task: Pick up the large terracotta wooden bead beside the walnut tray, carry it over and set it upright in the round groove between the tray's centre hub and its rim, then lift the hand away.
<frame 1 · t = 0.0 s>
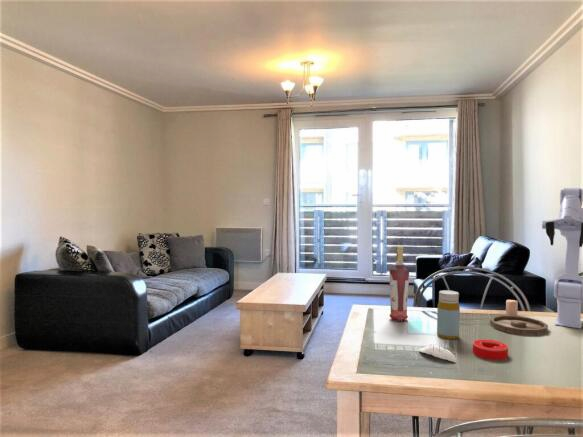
hand: (565, 244, 139), 32 cm above the table, tool tilted 50°, fingers open, 7 cm apart
bead: (511, 316, 174), on the table
bottle: (447, 337, 149), on the table
liquor: (398, 320, 169), on the table
groove tray: (518, 327, 160), on the table
decorative ornament: (489, 355, 133), on the table
pincushion: (437, 358, 130), on the table
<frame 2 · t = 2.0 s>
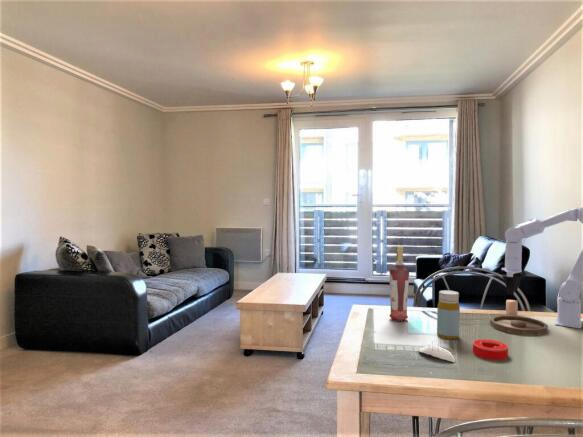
hand: (512, 292, 173), 9 cm above the table, tool pointing down, fingers open, 7 cm apart
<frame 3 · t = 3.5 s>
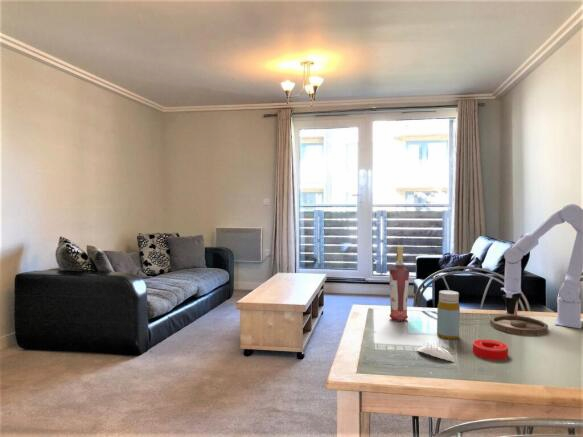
hand: (511, 312, 174), 1 cm above the table, tool pointing down, fingers closed on bead, 4 cm apart
bead: (511, 316, 174), on the table, touching gripper
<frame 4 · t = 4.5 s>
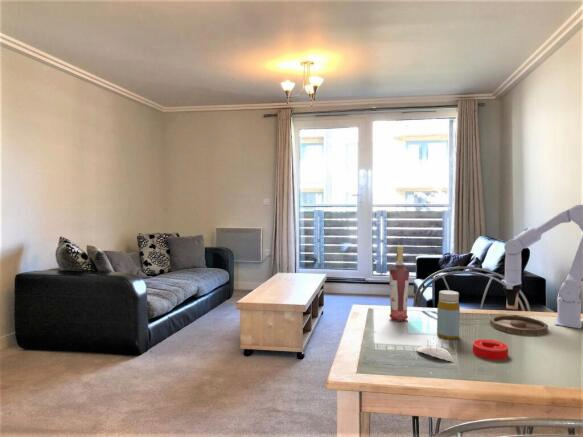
hand: (512, 304, 174), 5 cm above the table, tool pointing down, fingers closed on bead, 4 cm apart
bead: (512, 307, 174), point 3 cm above the table, touching gripper
everything else where it was.
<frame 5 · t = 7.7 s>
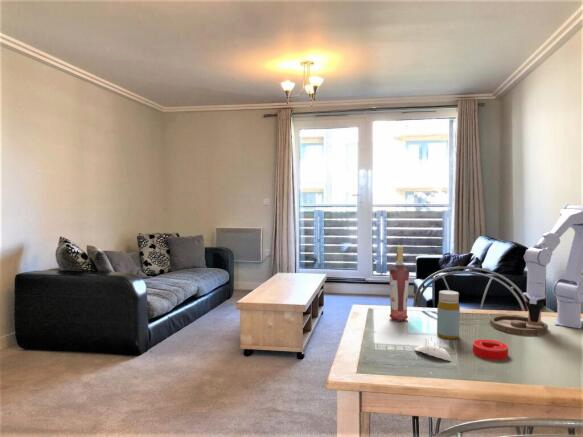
hand: (535, 320, 156), 3 cm above the table, tool pointing down, fingers closed on bead, 4 cm apart
bead: (534, 324, 157), point 2 cm above the table, touching gripper
when the fingers open (3 cm above the table, at t = 7.8 s): bead drops 1 cm, resting on groove tray.
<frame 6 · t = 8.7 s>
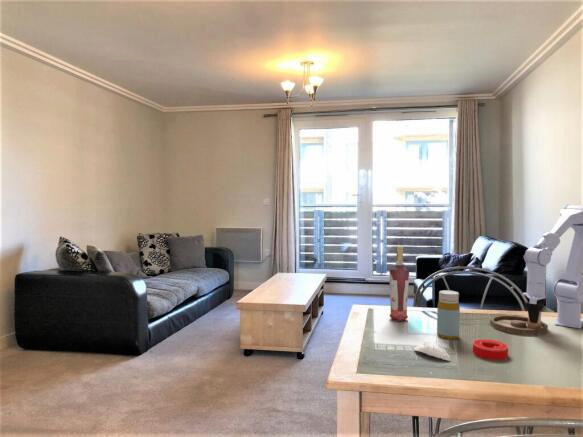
hand: (535, 320, 156), 3 cm above the table, tool pointing down, fingers open, 7 cm apart
bead: (534, 327, 157), point 1 cm above the table, touching groove tray
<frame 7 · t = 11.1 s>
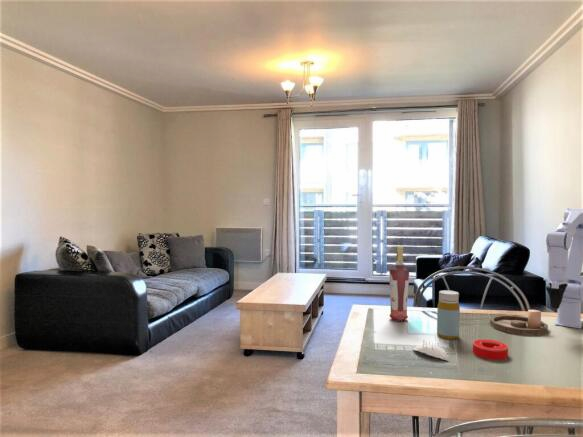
hand: (556, 305, 153), 9 cm above the table, tool pointing down, fingers open, 7 cm apart
at the end: bead 0.2 cm from the target spot on the groove tray, point 0.6 cm above the groove tray's base; bead tilted 0°; the gripper is holding nothing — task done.
